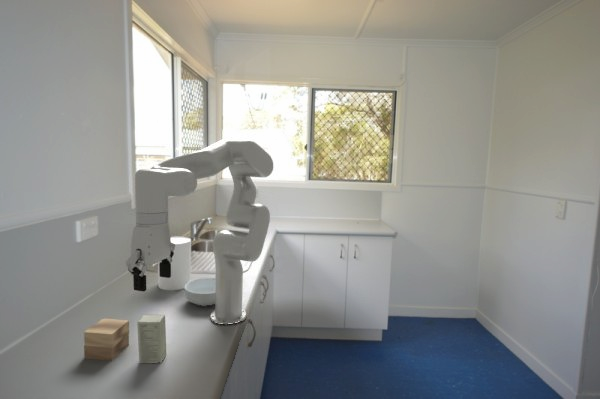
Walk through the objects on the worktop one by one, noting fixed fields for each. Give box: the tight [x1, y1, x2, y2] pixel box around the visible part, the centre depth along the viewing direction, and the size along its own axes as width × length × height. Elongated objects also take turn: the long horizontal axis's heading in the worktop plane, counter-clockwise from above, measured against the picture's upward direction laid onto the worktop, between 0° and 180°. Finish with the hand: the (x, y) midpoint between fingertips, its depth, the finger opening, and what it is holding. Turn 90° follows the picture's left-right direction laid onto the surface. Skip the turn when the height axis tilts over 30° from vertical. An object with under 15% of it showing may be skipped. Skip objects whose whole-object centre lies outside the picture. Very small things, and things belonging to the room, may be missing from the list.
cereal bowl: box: [183, 277, 215, 307], centre depth 132 cm, size 17×17×7 cm
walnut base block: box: [83, 333, 130, 362], centre depth 97 cm, size 8×8×4 cm
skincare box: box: [136, 314, 167, 364], centre depth 93 cm, size 6×4×12 cm
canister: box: [157, 236, 192, 291], centre depth 147 cm, size 14×14×20 cm
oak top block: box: [83, 318, 130, 348], centre depth 96 cm, size 8×8×4 cm
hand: (153, 283), depth 87 cm, fingers open, 9 cm apart
